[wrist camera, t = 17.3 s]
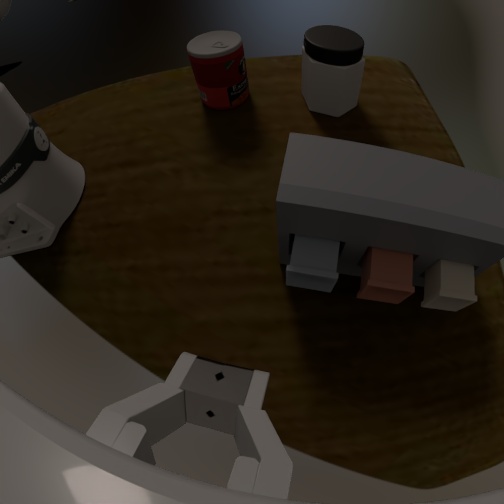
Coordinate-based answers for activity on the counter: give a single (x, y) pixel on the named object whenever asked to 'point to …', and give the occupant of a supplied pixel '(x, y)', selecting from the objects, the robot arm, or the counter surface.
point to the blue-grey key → (313, 263)
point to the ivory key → (449, 286)
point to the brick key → (386, 275)
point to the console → (387, 205)
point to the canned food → (219, 69)
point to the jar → (332, 69)
